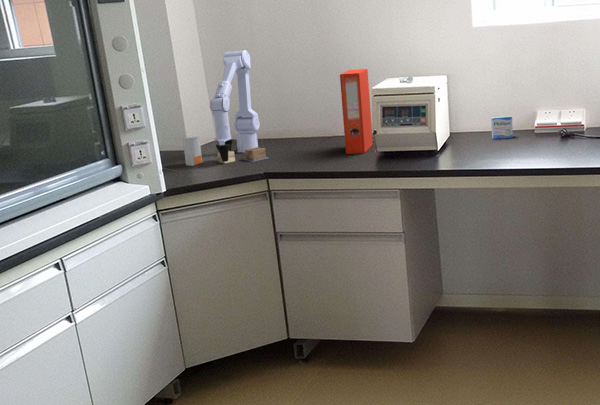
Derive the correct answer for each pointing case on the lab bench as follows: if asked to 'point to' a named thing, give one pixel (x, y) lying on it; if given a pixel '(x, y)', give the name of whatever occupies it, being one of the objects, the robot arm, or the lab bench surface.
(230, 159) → the maple block
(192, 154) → the skincare box
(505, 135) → the medicine box
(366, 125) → the file binder
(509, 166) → the lab bench surface
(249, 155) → the base block
